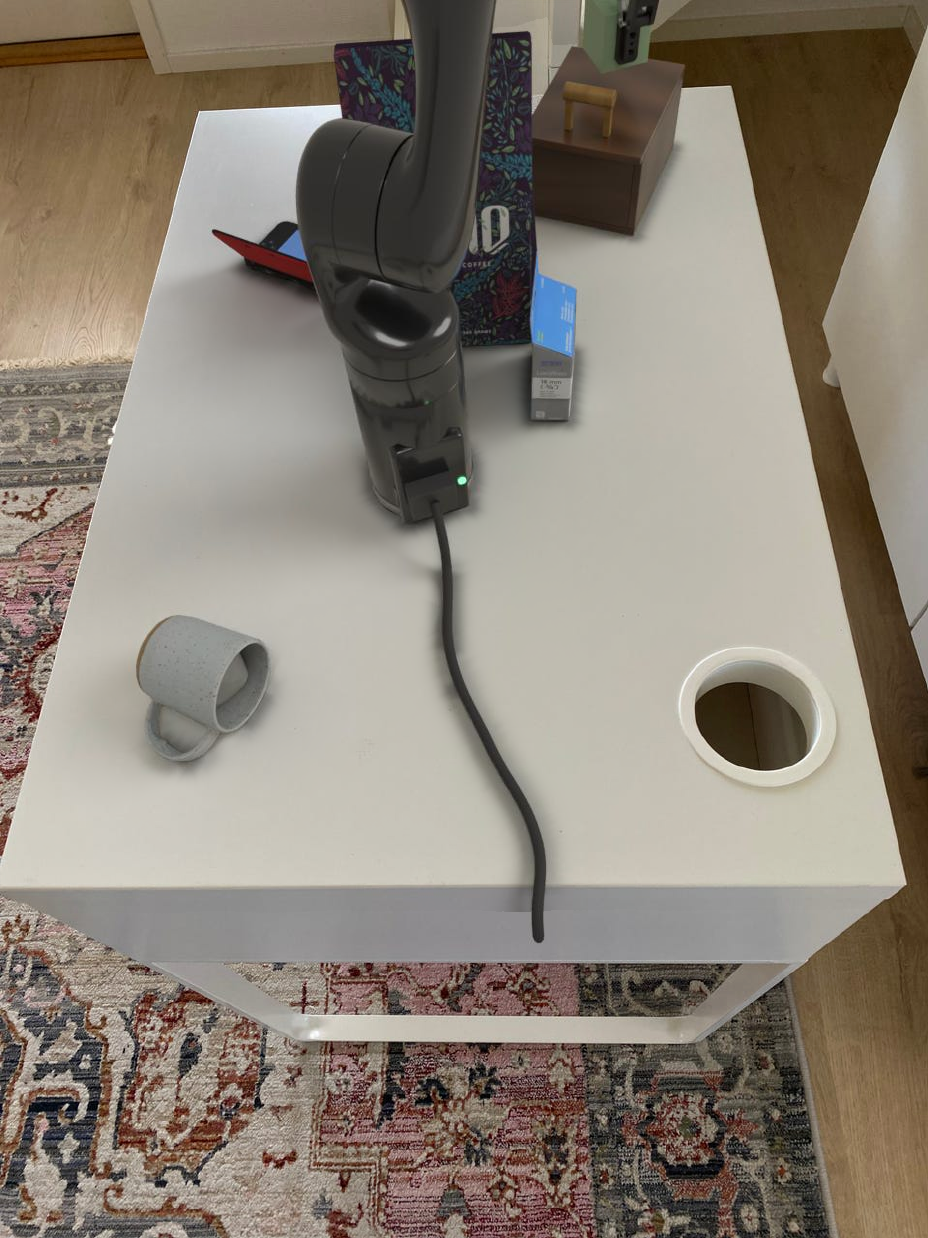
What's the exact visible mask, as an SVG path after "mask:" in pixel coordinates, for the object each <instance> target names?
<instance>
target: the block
mask: <svg viewBox="0 0 928 1238" xmlns="http://www.w3.org/2000/svg"><path fill="white" fill-rule="evenodd" d="M628 5H629V0H626V10H628ZM646 7H647V6H646ZM583 13H584V15H583V31H582V32H583V33H582V48H583V49H584V50H585V52H586V53H587V54H588V56H589V57H590V59H591V60H592V61H593V63H594V64H595V66H596V67H597V68H598V70H599V71H600V73H601V74H602V73H606V72H610V71H614V70H618V69H622V68H626V67H630V66H633V65H637V64H641V63H645V62H647V61H648V59H649V51H650V43H651V42H650V41H651V32H652V25H650V26H644V27H640V37H639V47H638V56H637V59H636V60H635V61H634V62H630V63H627V64H623V65H618V64H617V62H616V61H615V59H614V56H615V44H616V31H617V24H618V21H617V1H616V0H584V12H583Z"/></svg>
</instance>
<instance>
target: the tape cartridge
mask: <svg viewBox="0 0 928 1238" xmlns="http://www.w3.org/2000/svg"><path fill="white" fill-rule="evenodd" d="M576 327H577V288H576V287H573V286H571V285H569V284H566V283H563V282H561V281H559V280H556V279H554V278H551V277H548V276H545V275H544V274H541V273H540V272H539V252H538V250H537V251H536V260H535V269H534V279H533V289H532V298H531V309H530V330H531V339H532V341H531V346H532V347H531V351H532V352H531V396H530V397H531V399H530V411H529V412H530V415H529V416H530V417H529V419H530V421H536V422H541V421H542V422H568V421H570V418H571V417H570V416H571V407H572V406H571V405H572V395H573V381H574V369H575V352H576V350H575V349H576V333H577V332H576V330H577V328H576Z"/></svg>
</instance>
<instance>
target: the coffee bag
mask: <svg viewBox="0 0 928 1238" xmlns="http://www.w3.org/2000/svg"><path fill="white" fill-rule="evenodd" d="M333 61H334V68H335V75H336V84H337V91H338V97H339V104H340V105H339V106H340V113H341V118H347V119H354V120H360V121H364V122H369V123H373V124H377V125H383V126H387V127H392V128H396V129H401V130H405V131H410V132H414V126H415V104H416V82H415V65H414V55H413V47H412V41H411V38H402V39H401V38H400V39H386V40H371V41H369V40H368V41H356V42H353V41H352V42H342V43H336V44H335V45H334V48H333ZM532 114H533V41H532V34H531V31H529V30H523V31H522V30H521V31H508V32H506V31H505V32H492V41H491V51H490V63H489V74H488V86H487V98H486V110H485V121H484V133H483V145H482V158H481V169H480V180H479V189H478V199H477V208H476V215H475V222H474V227H473V232H472V236H471V241H470V245H469V248H468V252H467V255H466V258H465V261H464V263H463V266H462V268H461V270H460V272H459V274H458V276H457V277H456V279H455V280H454V282H453V283H452V284H451V285H450V286H449V288H450V289H451V291H452V293H453V294H454V296H455V298H456V301H457V303H458V307H459V313H460V322H461V336H462V347H470V346H471V347H473V346H475V347H476V346H493V345H513V344H530V343H532V339H531V330H530V309H531V298H532V289H533V279H534V269H535V260H536V251H537V252H538V242H537V241H538V240H537V226H536V216H535V210H534V196H533V181H532Z"/></svg>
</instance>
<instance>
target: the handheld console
mask: <svg viewBox="0 0 928 1238" xmlns="http://www.w3.org/2000/svg"><path fill="white" fill-rule="evenodd" d="M211 233H212V235H213V236H214V237H216V238H217V239H218V241H219V240H220V241H221V242H222V243H224V244H225V245H226V246H228V247H229V248H231V249H232V250H233V251H234V252H236V253H237V254H239V255H240V256H241V257H243V260H244V263H245V266H246V267H248V268H249V269H251V270H252V269H253V270H255V271H259V272H262V273H265V274H268V275H270V276H273V277H277V278H279V279H282V280H286V281H293V282H296V283H298V284H299V285H300V286H302V287H304V288H306V289H308V290H312V291H315V292H316V289H315V285H314V282H313V279H312V276H311V273H310V270H309V267H308V264H307V260H306V257H305V253H304V250H303V246H302V242H301V238H300V233H299V228H298V223H295V222H292V221H289V220H284V221H283V220H282V221H280V222H279V223H277V224H276V225H275V226H274V227H273V228H272V229H271V231H269V232H268V233H267V235H266V236H265V237H264V238H263V239H262V240H261V241H260V242H259V243H256V242H254V241H250V240H248V239H245V238H242V237H239V236H236V235H234V234H231V233H228V232H224V231H222V230H219V229H217V228H216V229H215V228H213V229H211Z"/></svg>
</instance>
